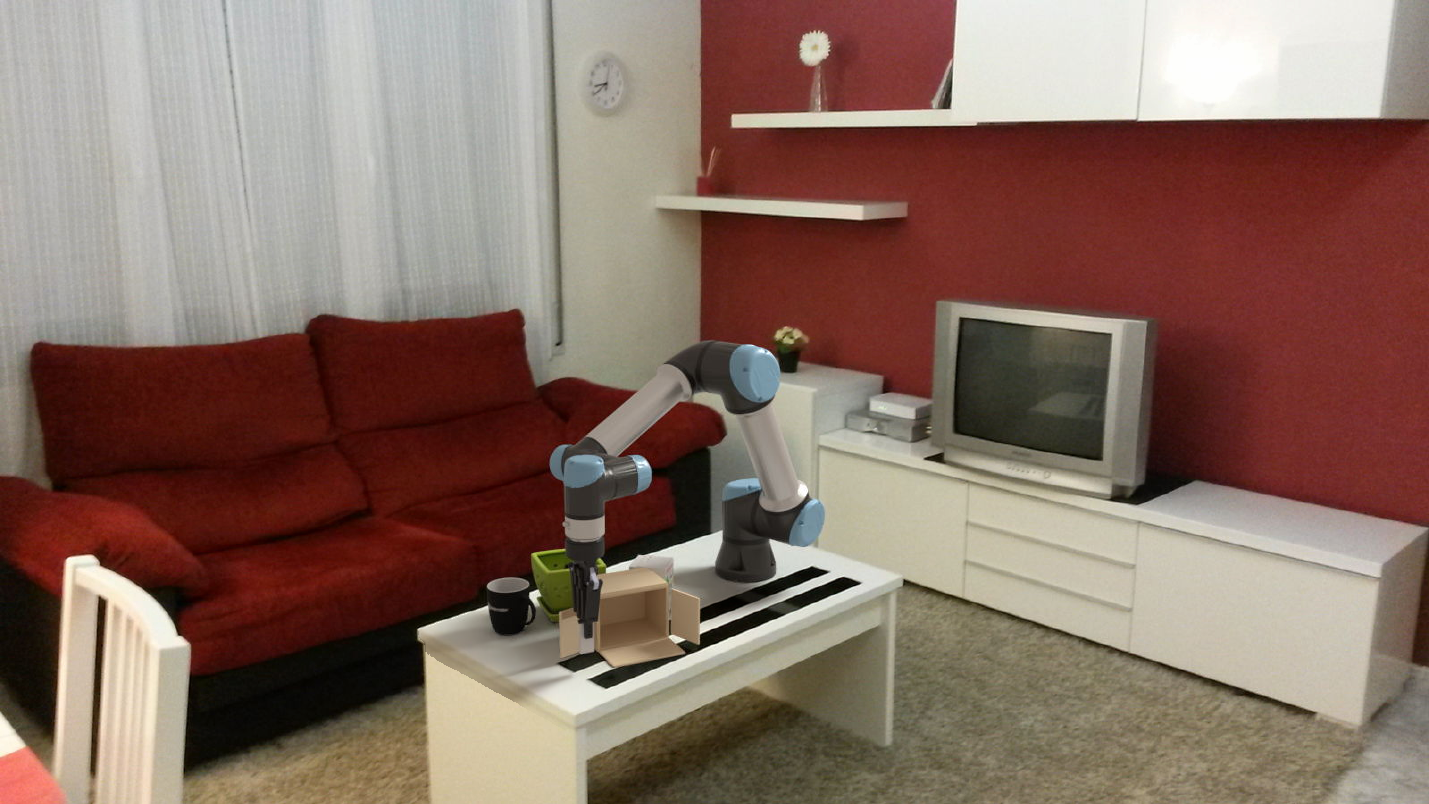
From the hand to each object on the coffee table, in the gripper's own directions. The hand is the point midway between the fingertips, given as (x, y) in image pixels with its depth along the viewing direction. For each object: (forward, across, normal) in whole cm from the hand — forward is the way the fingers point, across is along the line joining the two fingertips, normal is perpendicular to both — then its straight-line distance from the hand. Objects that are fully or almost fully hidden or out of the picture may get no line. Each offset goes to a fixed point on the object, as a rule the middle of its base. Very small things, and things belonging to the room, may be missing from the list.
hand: (586, 651), depth 221 cm
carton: (+4, -10, +15) cm, 18 cm away
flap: (+3, -7, 0) cm, 7 cm away
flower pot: (+4, -31, +7) cm, 32 cm away
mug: (+4, -26, -7) cm, 27 cm away
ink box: (+4, -24, +24) cm, 34 cm away
